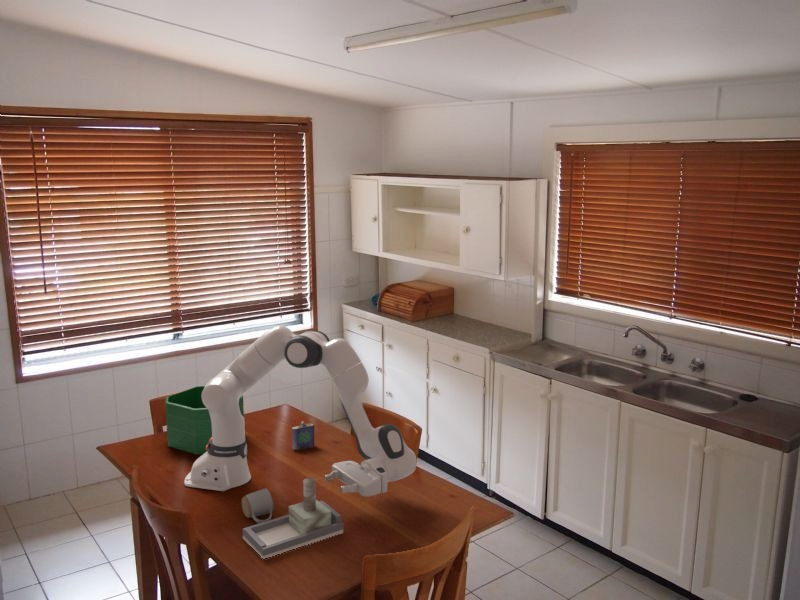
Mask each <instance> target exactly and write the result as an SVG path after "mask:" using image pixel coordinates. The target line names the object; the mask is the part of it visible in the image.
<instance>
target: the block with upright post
mask: <svg viewBox="0 0 800 600" xmlns="http://www.w3.org/2000/svg"><path fill="white" fill-rule="evenodd" d="M302 484H303V485H302V486H303V501H301V502H298V503H294V504H291V505H288V515H289V524H290V525H292V526H293V527H294V528H295V529H296V530H297V531H298V532H299V533H300V534H305V533H308V532H311V531H314V530H317V529H320V528H323V527H326V526H329V525H331V511H330V510H329V509H328V508H327V507H325V506H324V505H323V504H322V503H320V502H319V500H318V499H317V495H316V485H317V484H316V479H315V478H312V477H307V478H304V479H303V481H302Z"/></svg>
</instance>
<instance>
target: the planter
mask: <svg viewBox="0 0 800 600" xmlns="http://www.w3.org/2000/svg"><path fill="white" fill-rule="evenodd" d="M205 386H206V385H201V386H199V385H197V386H194V387H191V388H188V389H185V390H183V391H179V392H177V393H173V394H171V395H168V396H166V398H165V402H164V403H165V414H166V415H165V417H166V418H165V419H166V421H165V422H166V432H167V433H166V435H167V436H166V437H167V446H168V447H170V448H173V449H177V450H181V451H184V452H188V453H190V454H193V455H203V454H204V453H206V452H207V451H208V450H206V446H207V443H208V442H209V440H210V439H211V437H212V424H211V418H210V414H209V411H208V408H207V407H206V406H205V405H204V404H203V402H202V397H201V396H202V391H203V389H204V387H205ZM239 409H240V412H241V415H242V416H243V417H244V418H245V413H244V412H245V410H244V394H243V395H242V396H241V397H240V398H239Z"/></svg>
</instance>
